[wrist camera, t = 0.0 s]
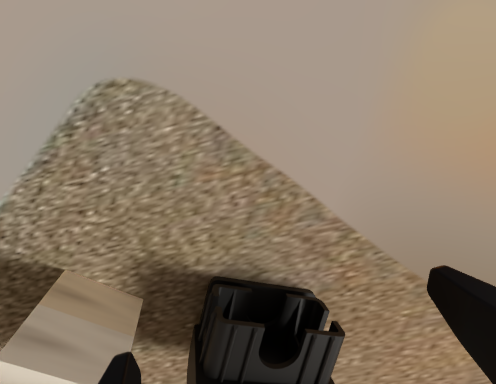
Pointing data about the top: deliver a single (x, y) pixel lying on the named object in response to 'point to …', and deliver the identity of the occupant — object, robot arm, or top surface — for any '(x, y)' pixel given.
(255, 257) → the top surface
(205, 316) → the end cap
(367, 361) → the top surface
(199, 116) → the top surface
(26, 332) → the tower middle block
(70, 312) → the tower bottom block
